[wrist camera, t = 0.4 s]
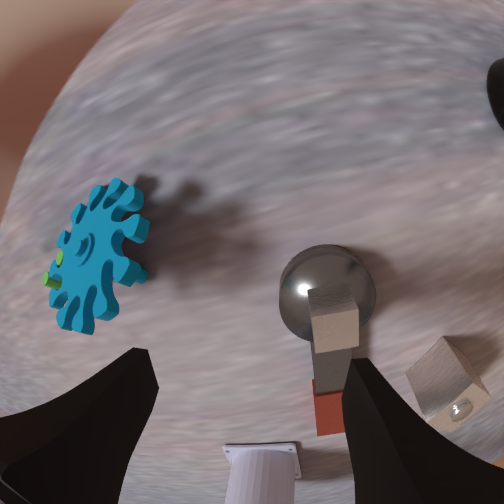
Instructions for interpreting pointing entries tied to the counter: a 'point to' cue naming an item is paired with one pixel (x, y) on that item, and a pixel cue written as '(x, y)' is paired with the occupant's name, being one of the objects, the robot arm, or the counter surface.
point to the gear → (96, 257)
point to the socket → (446, 386)
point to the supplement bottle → (496, 90)
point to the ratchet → (327, 320)
